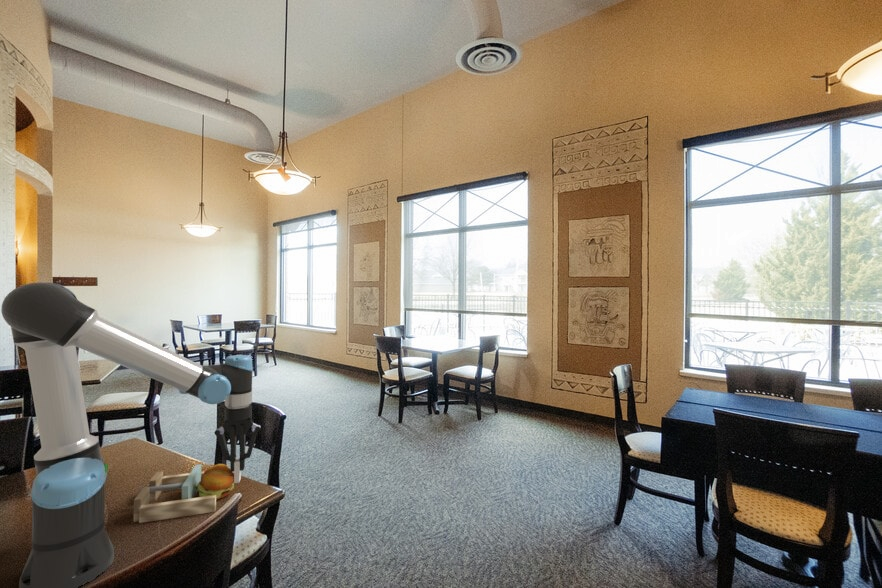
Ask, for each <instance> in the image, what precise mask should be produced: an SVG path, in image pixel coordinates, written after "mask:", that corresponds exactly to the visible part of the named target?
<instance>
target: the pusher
mask: <svg viewBox="0 0 882 588" xmlns="http://www.w3.org/2000/svg"><path fill="white" fill-rule="evenodd" d="M201 472H202V464H201V463H200V464H199V463H198V464H195V465H194V467H193V468H192V469H191V471H190V472H189V473H190V474H189V476H188V478H187V479H186V481H185V482H184V483H178V484H170V485H162V486H154V487H149V486H148V487H147V486H146V487H140V488H139V493H140V492H141V491H142V490H143V489H146V488H150V492H155V491H162V492H164V491H163V490H167V491H172V490H171V489H175V490H179V489H178V488H182V489H181V500H183V499H191V498H196V496H197V489H196V486H197V484H198V483H199V482H200V481H201Z"/></svg>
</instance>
